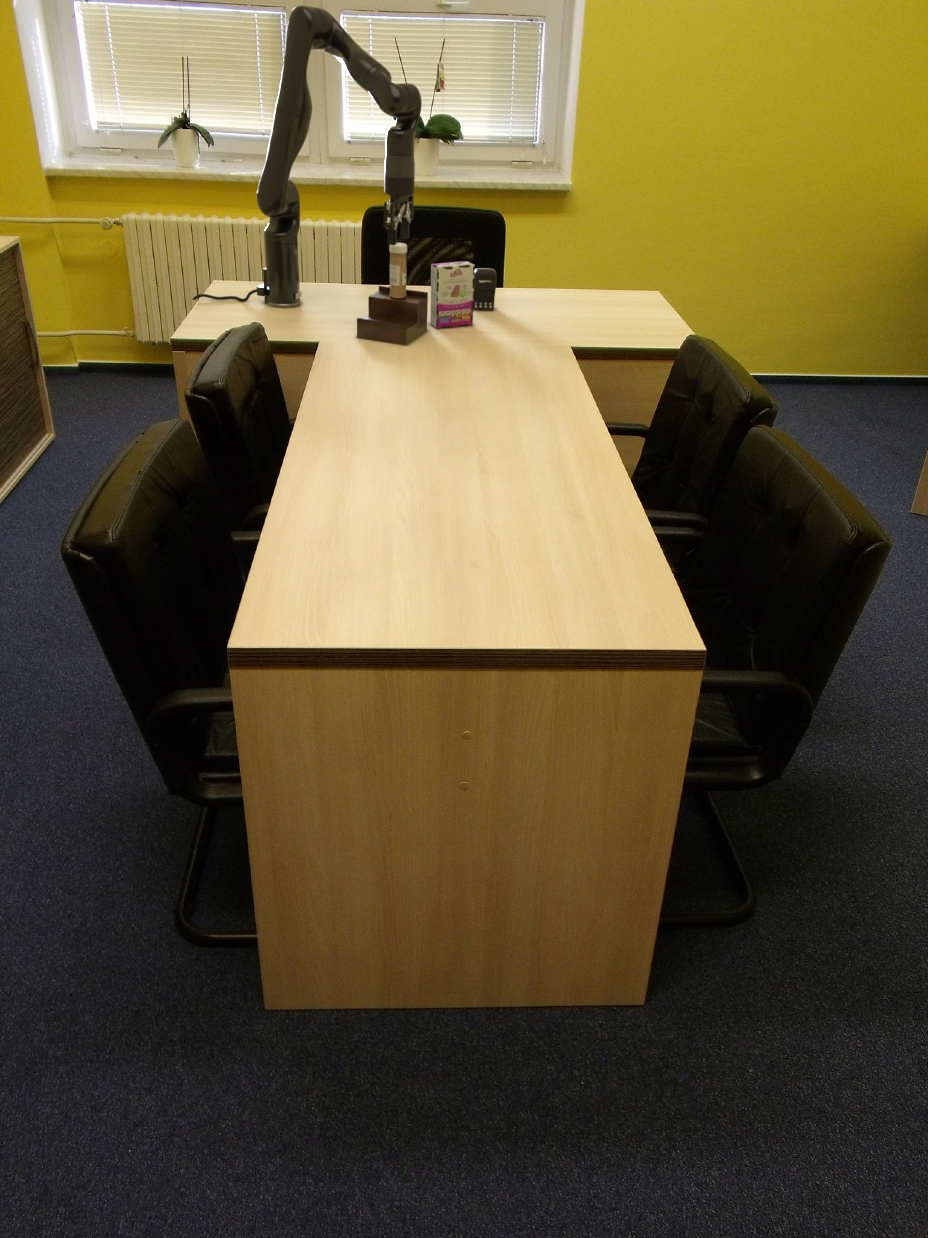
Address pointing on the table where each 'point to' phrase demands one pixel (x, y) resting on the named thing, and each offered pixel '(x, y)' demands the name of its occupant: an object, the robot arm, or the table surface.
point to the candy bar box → (452, 294)
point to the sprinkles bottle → (398, 270)
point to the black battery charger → (484, 289)
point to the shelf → (394, 317)
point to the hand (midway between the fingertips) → (398, 241)
